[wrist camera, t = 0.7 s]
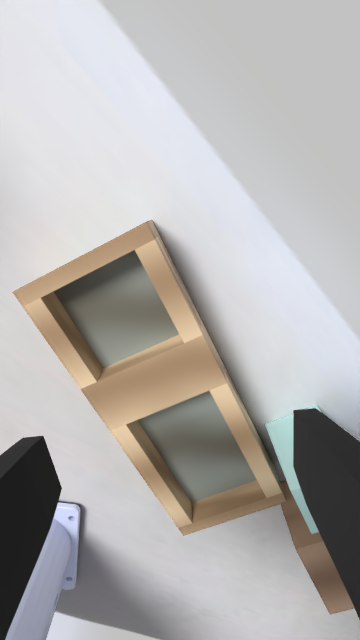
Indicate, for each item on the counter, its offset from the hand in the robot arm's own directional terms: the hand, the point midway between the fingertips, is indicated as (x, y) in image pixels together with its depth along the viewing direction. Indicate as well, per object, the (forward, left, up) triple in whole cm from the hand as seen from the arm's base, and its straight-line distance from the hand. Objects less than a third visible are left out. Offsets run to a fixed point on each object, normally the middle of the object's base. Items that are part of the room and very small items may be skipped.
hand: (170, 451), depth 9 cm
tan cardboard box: (-13, -12, -10) cm, 20 cm away
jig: (-4, 0, -9) cm, 10 cm away
